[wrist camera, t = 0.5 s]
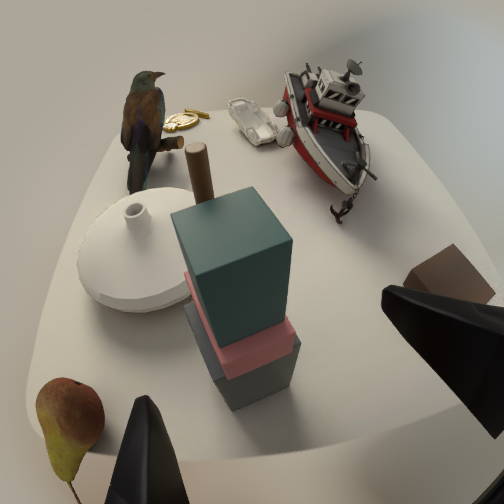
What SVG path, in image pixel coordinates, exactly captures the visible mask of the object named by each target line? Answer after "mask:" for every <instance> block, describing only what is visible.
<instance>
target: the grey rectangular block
mask: <svg viewBox="0 0 504 504" xmlns="http://www.w3.org/2000/svg"><path fill="white" fill-rule="evenodd" d="M183 308H184V310H185V313H186V316H187V318H188V321H189V323H190V326H191V329H192V331H193V334H194V336H195V339H196V341H197V344H198V346H199V349H200V351H201V353H202V356H203V358H204V361H205V363H206V365H207V368H208V370H209V373H210V375H211V377H212V379H213V382H214V383H215V385H216V387H217V388H218V390H219V392H220V393H221V395H222V397H223V398H224V400H225V402H226V403H227V405H228V407H229V408H230V410H231V411H234V410H236V409H239V408H241V407H244V406H246V405H248V404H251V403H253V402H255V401H258V400H260V399H262V398H264V397H267V396H269V395H271V394H273V393H275V392H278V391H280V390H282V389H284V388H286V387H288V386H289V385H290V382H291V378H292V375H293V371H294V368H295V364H296V361H297V357H298V353H299V350H300V346H301V341H300V340H299V338H298V336H297V335H295V340H294V344H293V349H292V352H291V353H289V354H287V355H285V356H283V357H281V358H279V359H276V360H274V361H272V362H270V363H268V364H265V365H263V366H261V367H259V368H256V369H254V370H252V371H250V372H247V373H245V374H242V375H240V376H238V377H235V378H233V379H231V380H228V379H227V377H226V375H225V373H224V371H223V368H222V366H221V364H220V362H219V360H218V357H217V355H216V353H215V350H214V348H213V346H212V344H211V341H210V339H209V337H208V334H207V332H206V330H205V327H204V325H203V322H202V320H201V318H200V315H199V313H198V310H197V308H196V305H195V303H194V301H193V302H190V303H188V304H185V305H183Z"/></svg>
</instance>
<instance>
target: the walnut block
mask: <svg viewBox="0 0 504 504" xmlns="http://www.w3.org/2000/svg"><path fill="white" fill-rule="evenodd" d="M403 285H404V286H405V288H410V289H415V290H419V291H424V292H429V293H433V294H438V295H443V296H447V297H452V298H457V299H462V300H466V301H471V302H472V303H473V302H476V303H480V304H487V303H488V302H489V301H490V299H491V298H492V297H493V296H494V295H495V294H496V293H495V292H494V290H493V289H492V288H491V287H490V285H489V284H488V283H487V282H486V280H485V279H484V278H483V277H482V276H481V274H480V273H479V272H478V271H477V270H476V268H475V267H474V266H473V265H472V264H471V263H470V262H469V260H468V259H467V258H466V257H465V256H464V255H463V254H462V252H461V251H460V250H459V249H458V248H457V247H456V246H455V245H454V244H452V245H450V246H448V247H447V248H445V249H444V250H442V251H441V252H439V253H437V254H436V255H434V256H433V257H431V258H429V259H428V260H426V261H425V262H423V263H421V264H420V265H418V266H416V267H415V268H413V269H411V271H410V273H409V274H408V276H407V278H406V280H405V281H404V283H403Z"/></svg>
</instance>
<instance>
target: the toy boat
mask: <svg viewBox="0 0 504 504" xmlns="http://www.w3.org/2000/svg"><path fill="white" fill-rule="evenodd" d="M360 63H362V62H360ZM360 63H359V64H360ZM359 64H357V63H355V62H354V61H353V60H351V59H348V61H347V68H348V72H347V73H346V74H345V75H343V74H340V73H337V72H334V71H331V70H328V69H322V70H321V69H320V67H318V70H319V73H320V75H319V74H312V73H311V70H310V67H309V65H308V63H306V68H307V71H308V72H307V71H304V72H303V73H301V74H299V73H295V72H291V71H286V72H285V75H284V78H285V82H286V89H285V92H284V97H283V100H279V101H277V103H276V104H275V106H274V109H273V111H274V114H275V116H276V117H284V116H287V121H288V126H284V127H282V128H281V129H280V130H279V133H278V135H277V142H278V144H279V146H280V147H281V146H283V147H281V148H284V147H288V146H290V145H291V144H292V143H293V145H294V147H295V149H296V150H297V151H298V153H299V154H300V155H301V157H302V158H303V159H304V160H305V161H306V162H307V163H308V165H309V166H310V167H311V168H312V169H313V170H314V171H315V172H316V173H317V174H318V175H319V176H320V177H321V178H322V179H323V180H325V181H326V182H327V183H329V184H331V185H332V186H334V187H337V188H338V189H339V190H340V191H341V192H343V193H344V194H345V195H351V194H353V193H354V192H355V193H354V195H355V194H356V196H357V194H358V193H356V191H357V190H358V192H359V189H360V187H361V186H362V185H363V183H364V181H365V178H366V176H367V174H369V175H370V176H371V177H372V178H373V179H374V180H375V181H376V180H377V177H376V176H375V175H374V174H372V173H371V172H370V171H369V170H368V169H369V165H370V152H369V145H368V144H365V143H364V142H363V140H362V138H363V139H364V137H363V136H362V135H361V134H360V133H359V131H358V129H357V122H356V120H355V118H354V117H355V113H354V110H355V108H356V106H357V105H358V104H359V103H360V102H361V100H362V99H363V98H364V97H365V94H364V93H363V91H362V89H361V88H360V86H359V84H358V83H357V81H356V80H355V79H354V78H351V77H350V72H351V73H353V74H354V75H362V70H361V68H360V67H359ZM354 195H353V196H352V197H353V198H354V199H355V197H356V196H355V197H354ZM352 197H351V198H349V200H348V201H345V200H344V201H342V209H341V210H340V212H339V213H337V212H335V211H334V209H333V205H331V207H330V211H331V213H332V214H333V215H334V216H335V218H336V221H337V223H338V224H341V223H342V221H340V217H342V216H344V215H346V214H347V213H348V212H349V211H350V210H351V209H352V207H353V203H352V202H353V200H354V199H353V200H352ZM345 209H348V210H347V211H345V212H344V210H345Z"/></svg>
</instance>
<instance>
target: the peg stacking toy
mask: <svg viewBox="0 0 504 504" xmlns="http://www.w3.org/2000/svg"><path fill="white" fill-rule="evenodd" d="M185 154H186V160H187V164H188V169H189V174H190V179H191V184H192V189H193V193H194V198H195V203H196V205H194V206H191V207H188V208H185V209H182V210H179V211H177V212H174V213H171V214H170V216H171V219H172V223H173V226H174V229H175V232H176V235H177V239H178V242H179V245H180V248H181V251H182V254H183V257H184V260H185V263H186V266H187V269H188V271H186V272H184V276H185V279H186V282H187V285H188V287H189V290H190V293H191V295H192V298H193V300H194V303H195V305H196V308H197V310H198V313H199V315H200V318H201V320H202V322H203V325H204V327H205V330H206V332H207V334H208V337H209V339H210V341H211V344H212V346H213V348H214V350H215V353H216V355H217V357H218V360H219V362H220V364H221V366H222V368H223V371H224V373H225V375H226V377H227V379H228V380H231V379H233V378H235V377H238V376H240V375H242V374H245V373H247V372H250V371H252V370H254V369H256V368H259V367H261V366H263V365H265V364H268V363H270V362H272V361H274V360H276V359H279V358H281V357H283V356H285V355H287V354H289V353H291V352H292V349H293V344H294V340H295V335H296V332H295V330H294V328H293V327H292V325H291V323H290V322H289V320H288V318H287V317H286V315H285V313H286V304H287V294H288V285H289V275H290V265H291V254H292V243H293V239H292V238H291V236H290V235H289V234H288V232H287V231H286V230H285V228H284V227H283V226H282V224H281V223H280V222H279V220H278V219H277V218H276V216H275V215H274V214H273V212H272V211H271V210H270V208H269V207H268V206H267V205H266V203H265V202H264V201H263V199H262V198H261V197H260V195H259V194H258V193H257V191H256V190H255V189H254V188H253V187H249V188H246V189H242V190H239V191H236V192H233V193H230V194H227V195H224V196H221V197H218V198H215V199H214V192H213V186H212V179H211V173H210V166H209V160H208V153H207V147H206V145H205V144H204V143H192V144H190V145H188V146H187V147H186V148H185Z"/></svg>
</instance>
